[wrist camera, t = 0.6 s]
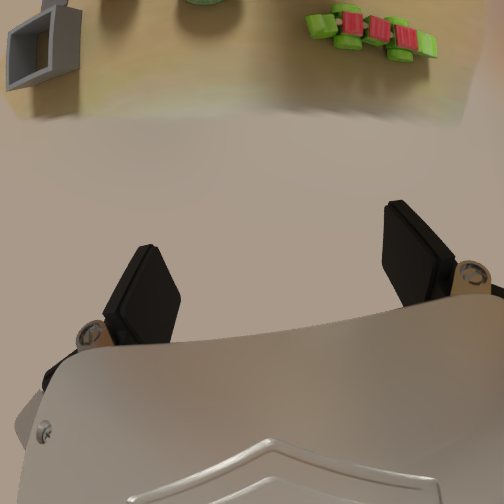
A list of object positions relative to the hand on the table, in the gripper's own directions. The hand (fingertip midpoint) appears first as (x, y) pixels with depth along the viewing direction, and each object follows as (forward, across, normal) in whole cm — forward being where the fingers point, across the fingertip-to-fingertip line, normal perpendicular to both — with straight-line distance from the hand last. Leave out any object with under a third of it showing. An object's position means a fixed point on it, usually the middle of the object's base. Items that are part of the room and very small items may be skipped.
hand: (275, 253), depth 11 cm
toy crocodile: (+30, -18, -12) cm, 37 cm away
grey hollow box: (+29, +27, -25) cm, 47 cm away
